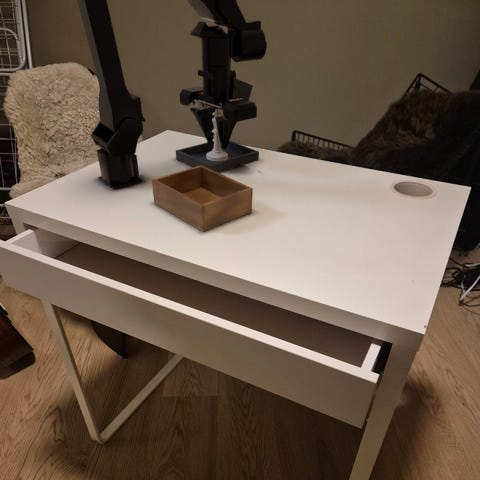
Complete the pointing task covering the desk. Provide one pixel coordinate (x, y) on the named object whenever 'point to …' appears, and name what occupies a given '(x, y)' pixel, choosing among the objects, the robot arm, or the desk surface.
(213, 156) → the chess piece
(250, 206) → the wooden box
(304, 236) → the desk surface
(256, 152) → the tray
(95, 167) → the desk surface
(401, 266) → the desk surface
